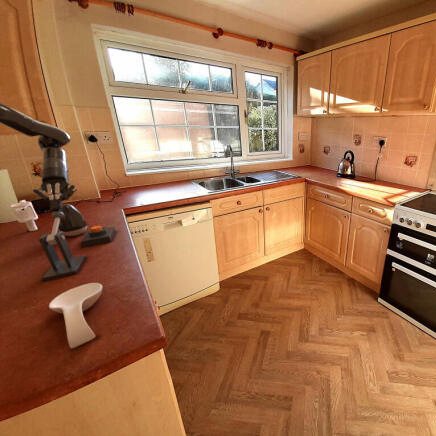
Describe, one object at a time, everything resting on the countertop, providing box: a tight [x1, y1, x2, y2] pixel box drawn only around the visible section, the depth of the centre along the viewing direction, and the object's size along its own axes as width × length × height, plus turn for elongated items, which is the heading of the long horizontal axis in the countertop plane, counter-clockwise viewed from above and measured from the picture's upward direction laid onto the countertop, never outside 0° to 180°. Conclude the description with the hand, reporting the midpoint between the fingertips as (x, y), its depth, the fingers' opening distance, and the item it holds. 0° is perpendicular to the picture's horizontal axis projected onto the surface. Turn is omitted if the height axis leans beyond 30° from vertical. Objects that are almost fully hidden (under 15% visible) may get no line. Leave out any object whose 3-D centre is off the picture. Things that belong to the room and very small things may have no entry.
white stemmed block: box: [10, 199, 39, 232], centre depth 121 cm, size 7×7×15 cm
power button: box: [90, 225, 102, 232], centre depth 109 cm, size 4×4×2 cm
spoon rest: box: [48, 282, 103, 349], centre depth 65 cm, size 24×12×7 cm, turn 41°
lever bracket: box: [38, 230, 87, 282], centre depth 86 cm, size 12×9×14 cm
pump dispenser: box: [49, 203, 88, 237], centre depth 114 cm, size 10×10×15 cm
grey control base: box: [80, 226, 116, 248], centre depth 110 cm, size 12×10×4 cm
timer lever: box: [46, 211, 64, 246], centre depth 88 cm, size 15×3×3 cm, turn 28°
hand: (56, 209), depth 91 cm, fingers closed
